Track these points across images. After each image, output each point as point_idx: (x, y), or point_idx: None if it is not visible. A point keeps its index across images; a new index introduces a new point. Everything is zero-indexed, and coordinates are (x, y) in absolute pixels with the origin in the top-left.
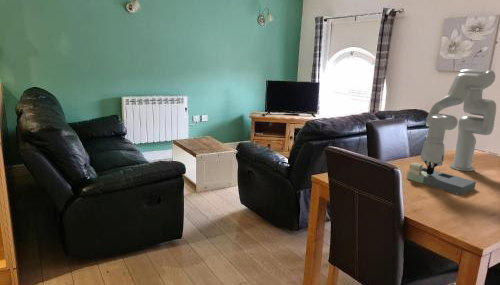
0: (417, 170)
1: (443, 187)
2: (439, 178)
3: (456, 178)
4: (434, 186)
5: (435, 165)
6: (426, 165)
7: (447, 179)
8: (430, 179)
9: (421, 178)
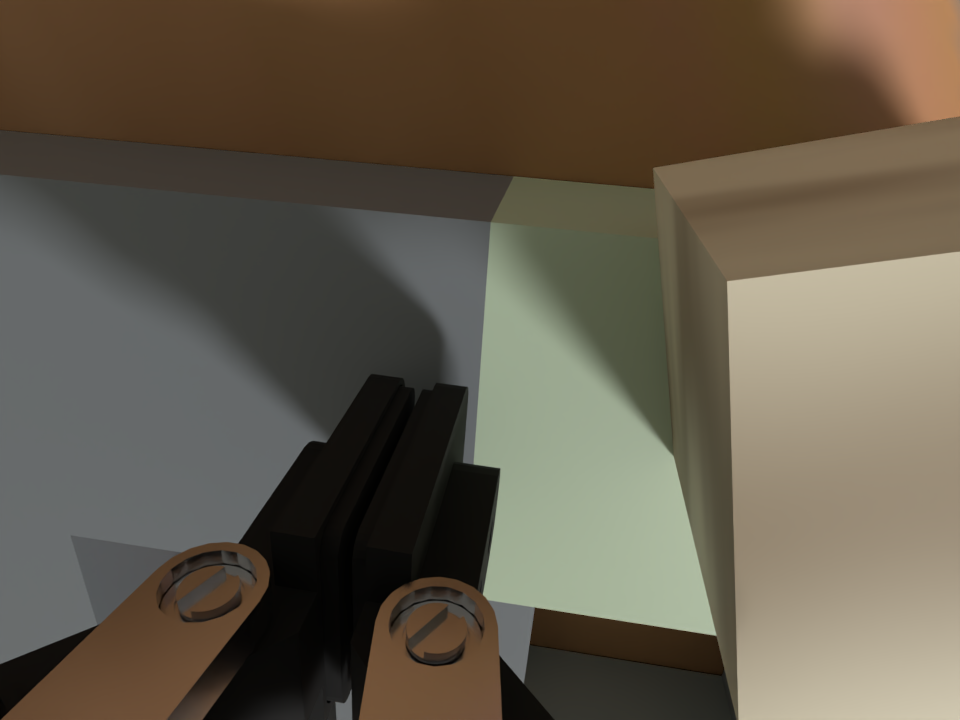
0: (772, 193)
1: (16, 141)
2: (148, 375)
3: (20, 625)
4: (235, 154)
5: (13, 682)
6: (492, 625)
7: (29, 445)
8: (290, 192)
9: (565, 208)
